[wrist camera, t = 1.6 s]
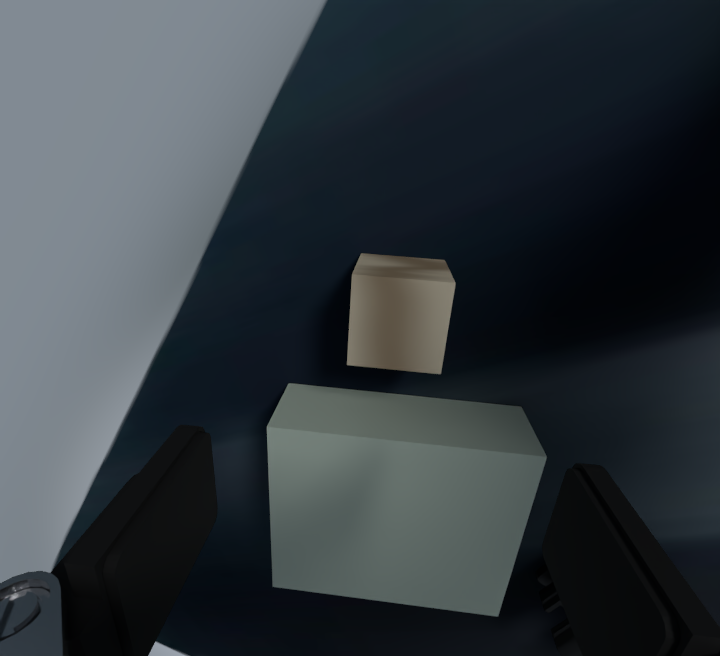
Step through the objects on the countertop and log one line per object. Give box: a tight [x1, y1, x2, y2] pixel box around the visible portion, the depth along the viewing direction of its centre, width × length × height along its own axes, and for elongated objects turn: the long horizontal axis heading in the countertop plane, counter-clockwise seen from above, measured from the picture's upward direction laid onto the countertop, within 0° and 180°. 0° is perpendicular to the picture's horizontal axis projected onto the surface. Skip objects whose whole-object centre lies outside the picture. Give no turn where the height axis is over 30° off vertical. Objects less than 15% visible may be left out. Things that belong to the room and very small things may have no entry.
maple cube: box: [347, 253, 456, 374], centre depth 22 cm, size 5×5×5 cm
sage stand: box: [267, 383, 547, 617], centre depth 28 cm, size 16×14×5 cm
